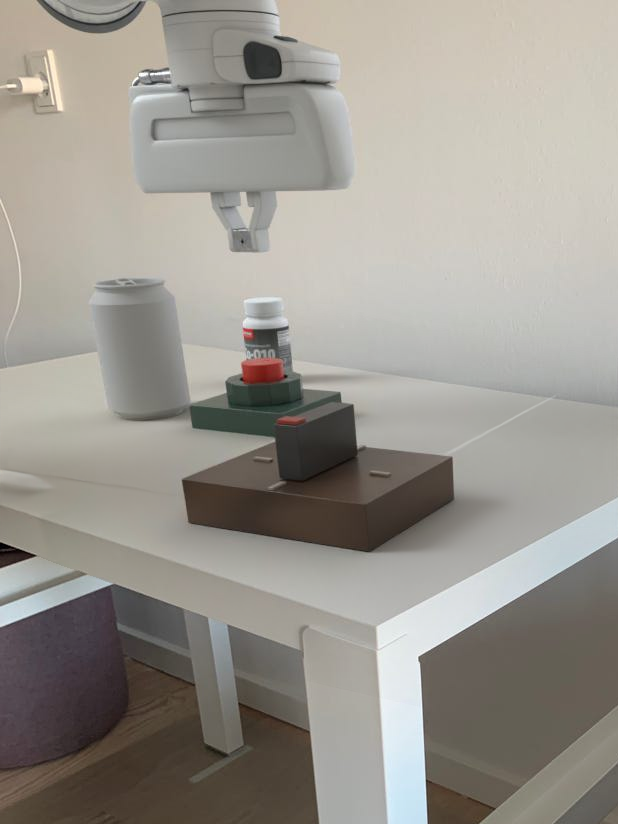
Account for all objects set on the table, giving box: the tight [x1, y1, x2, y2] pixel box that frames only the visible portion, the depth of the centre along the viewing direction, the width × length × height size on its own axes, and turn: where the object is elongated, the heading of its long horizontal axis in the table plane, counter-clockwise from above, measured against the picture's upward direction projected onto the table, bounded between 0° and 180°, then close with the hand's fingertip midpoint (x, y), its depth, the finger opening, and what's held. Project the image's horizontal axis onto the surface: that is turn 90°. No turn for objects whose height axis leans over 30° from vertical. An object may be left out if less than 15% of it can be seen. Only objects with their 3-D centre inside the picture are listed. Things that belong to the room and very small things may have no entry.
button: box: [240, 358, 285, 383], centre depth 88 cm, size 4×4×2 cm
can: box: [87, 277, 191, 421], centre depth 92 cm, size 8×8×12 cm
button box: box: [188, 370, 343, 438], centre depth 89 cm, size 10×9×4 cm
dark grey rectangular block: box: [273, 402, 358, 481], centre depth 65 cm, size 6×2×4 cm, turn 154°
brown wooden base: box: [181, 441, 455, 553], centre depth 67 cm, size 14×11×3 cm
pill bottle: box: [242, 296, 294, 372], centre depth 105 cm, size 5×5×8 cm
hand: (250, 252), depth 84 cm, fingers closed
